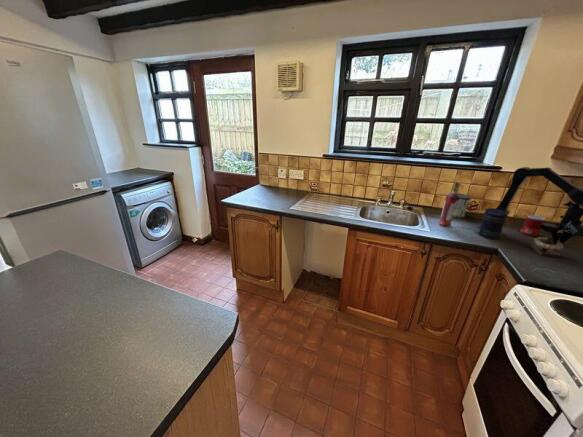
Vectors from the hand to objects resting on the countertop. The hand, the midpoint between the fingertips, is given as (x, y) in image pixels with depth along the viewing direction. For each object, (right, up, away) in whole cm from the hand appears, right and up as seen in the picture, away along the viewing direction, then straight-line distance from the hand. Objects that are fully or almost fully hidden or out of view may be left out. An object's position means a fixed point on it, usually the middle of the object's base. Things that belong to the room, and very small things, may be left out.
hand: (556, 243), depth 124 cm
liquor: (-40, +9, +29) cm, 50 cm away
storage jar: (-21, +3, +17) cm, 27 cm away
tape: (-4, 0, 0) cm, 4 cm away
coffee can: (-21, +16, +46) cm, 53 cm away
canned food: (+6, +4, +22) cm, 23 cm away
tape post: (-4, -4, +2) cm, 7 cm away
